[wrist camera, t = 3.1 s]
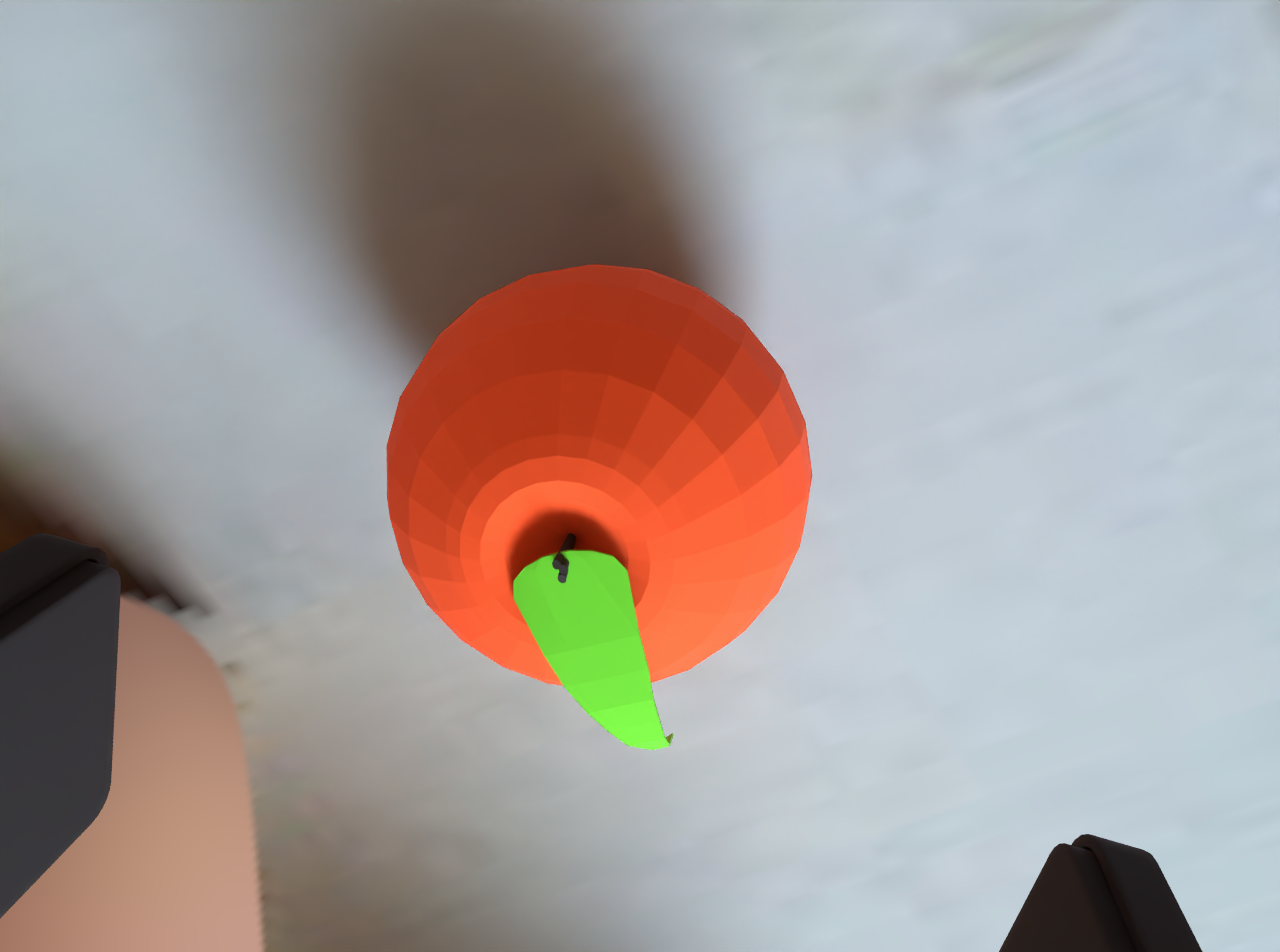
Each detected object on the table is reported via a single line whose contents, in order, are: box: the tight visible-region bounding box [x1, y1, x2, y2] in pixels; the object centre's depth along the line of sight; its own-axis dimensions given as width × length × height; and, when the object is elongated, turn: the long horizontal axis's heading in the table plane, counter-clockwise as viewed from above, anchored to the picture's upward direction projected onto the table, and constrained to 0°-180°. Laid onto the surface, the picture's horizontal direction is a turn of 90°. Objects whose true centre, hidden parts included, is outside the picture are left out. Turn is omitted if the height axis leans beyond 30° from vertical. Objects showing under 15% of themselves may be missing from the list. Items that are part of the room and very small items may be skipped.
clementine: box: [387, 264, 812, 750], centre depth 16 cm, size 8×7×7 cm
